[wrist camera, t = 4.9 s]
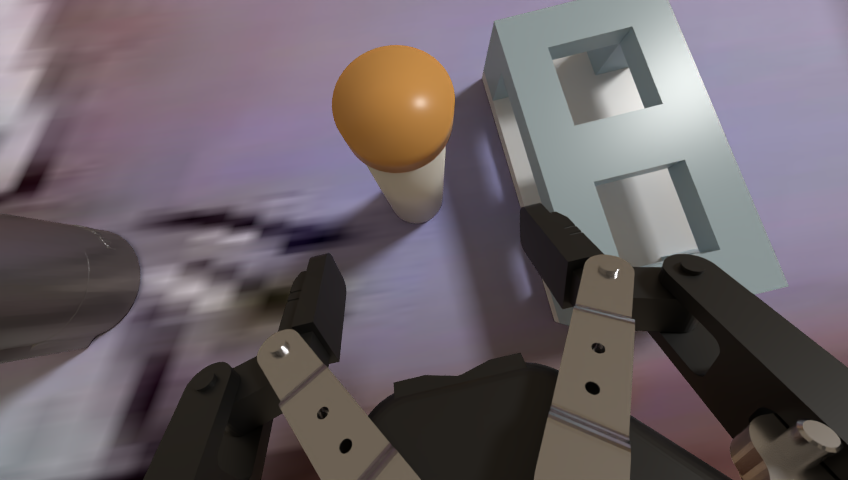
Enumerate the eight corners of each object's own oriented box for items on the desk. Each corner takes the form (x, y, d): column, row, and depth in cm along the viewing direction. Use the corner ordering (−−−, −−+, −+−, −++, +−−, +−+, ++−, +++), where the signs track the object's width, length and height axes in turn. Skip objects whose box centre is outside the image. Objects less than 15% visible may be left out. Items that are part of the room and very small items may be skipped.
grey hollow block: (702, 285, 24) (788, 286, 18) (554, 321, 24) (592, 333, 18) (611, 45, 27) (659, -21, 21) (481, 77, 27) (494, 21, 22)
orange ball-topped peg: (429, 236, 26) (420, 179, 12) (377, 210, 26) (310, 128, 12) (455, 184, 26) (475, 72, 12) (403, 160, 27) (367, 28, 13)
